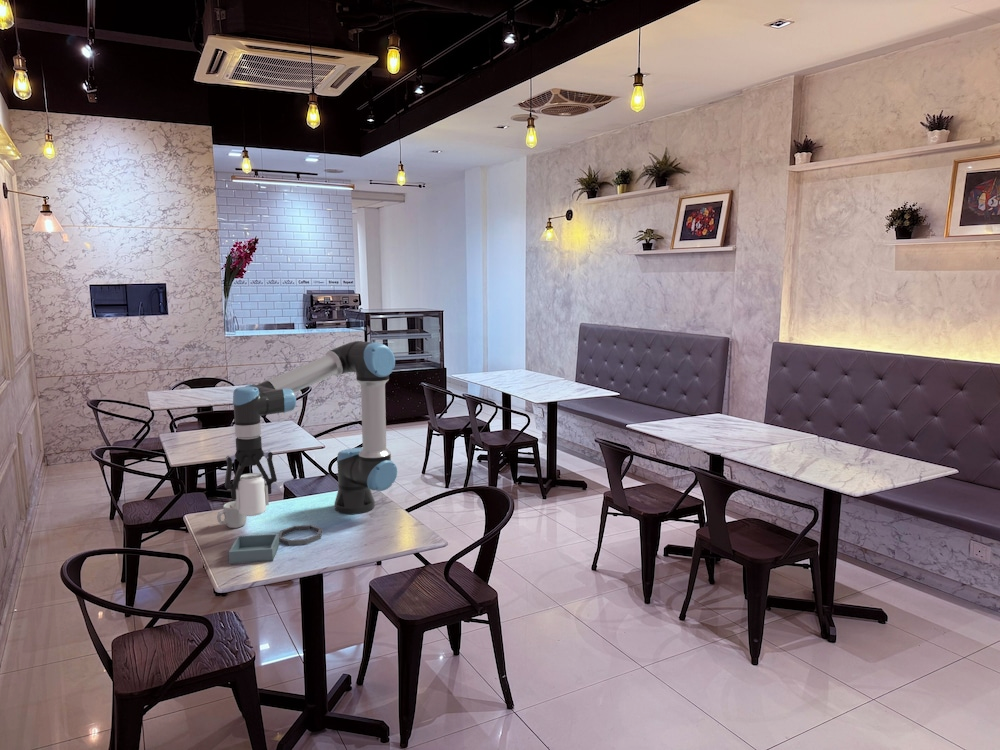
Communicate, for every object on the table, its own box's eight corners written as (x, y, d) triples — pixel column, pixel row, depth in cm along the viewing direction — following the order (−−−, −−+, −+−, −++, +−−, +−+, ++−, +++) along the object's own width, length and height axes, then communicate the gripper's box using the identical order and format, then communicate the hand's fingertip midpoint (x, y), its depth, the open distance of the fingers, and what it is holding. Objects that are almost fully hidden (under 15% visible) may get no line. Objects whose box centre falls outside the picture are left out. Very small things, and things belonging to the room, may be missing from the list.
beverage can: (236, 518, 208) (234, 480, 206) (241, 509, 215) (239, 473, 214) (263, 516, 209) (261, 479, 207) (268, 507, 217) (266, 472, 215)
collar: (323, 528, 236) (323, 524, 236) (319, 543, 223) (319, 539, 223) (282, 530, 234) (282, 526, 234) (275, 546, 220) (275, 542, 220)
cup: (224, 534, 231) (223, 511, 230) (212, 528, 236) (211, 507, 235) (252, 524, 240) (251, 503, 239) (240, 520, 245) (239, 499, 243)
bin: (279, 545, 222) (278, 533, 221) (272, 561, 209) (272, 549, 208) (238, 547, 219) (237, 536, 219) (229, 564, 207) (228, 551, 206)
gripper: (280, 430, 217) (283, 497, 220) (210, 438, 207) (215, 508, 210) (285, 435, 210) (288, 504, 214) (213, 443, 200) (218, 515, 204)
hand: (252, 506), depth 212 cm, fingers closed on beverage can, 8 cm apart
